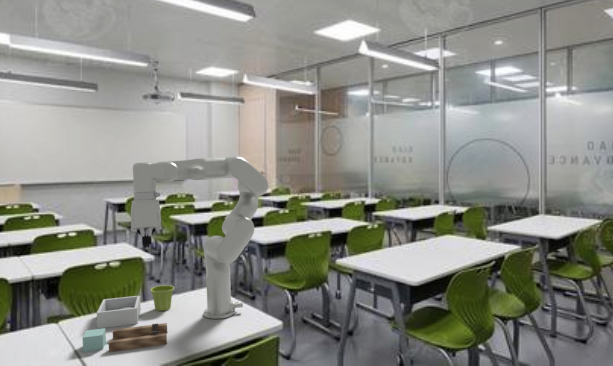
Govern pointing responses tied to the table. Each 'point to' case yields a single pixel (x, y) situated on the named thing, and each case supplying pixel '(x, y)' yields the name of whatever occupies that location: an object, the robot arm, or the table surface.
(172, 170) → the robot arm
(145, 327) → the wooden rail pair
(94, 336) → the block
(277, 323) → the table surface
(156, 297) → the plant pot
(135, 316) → the holder
